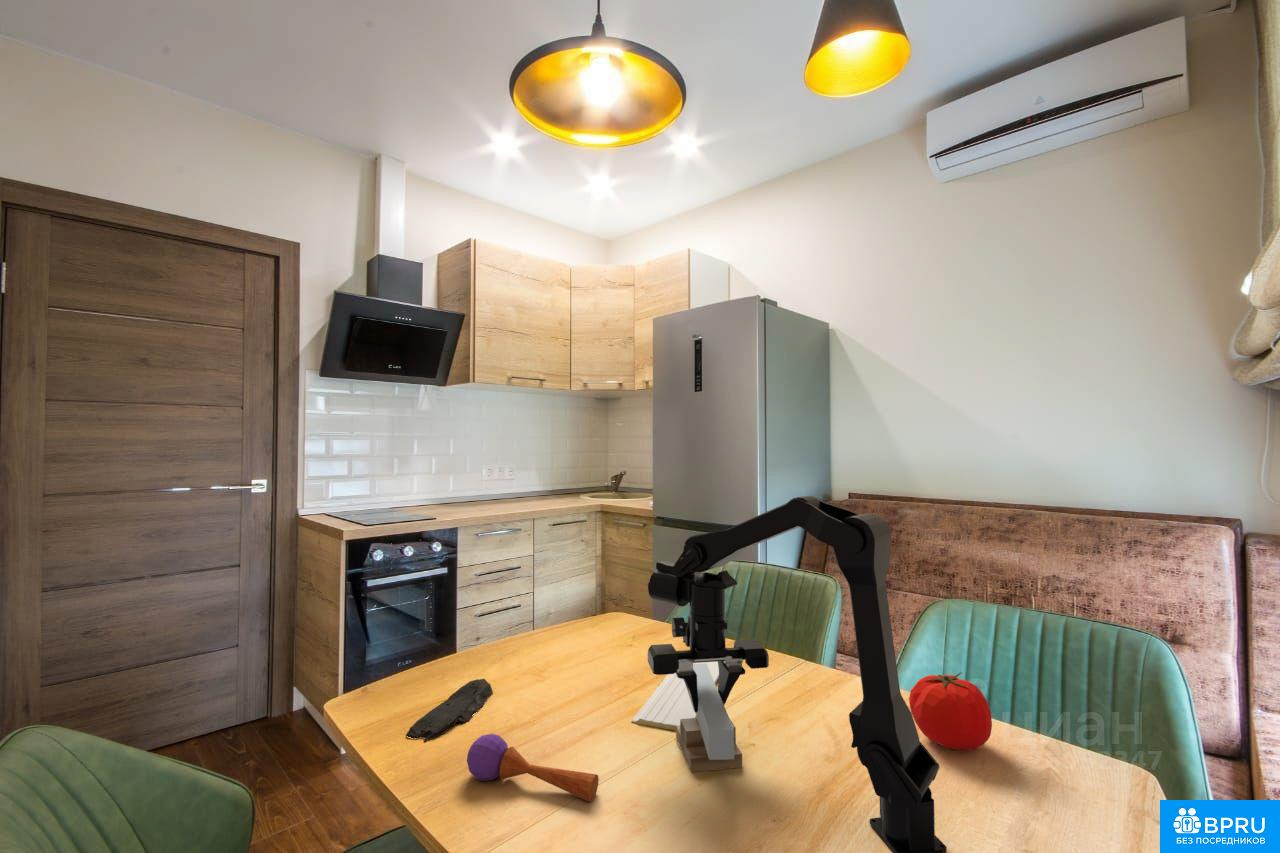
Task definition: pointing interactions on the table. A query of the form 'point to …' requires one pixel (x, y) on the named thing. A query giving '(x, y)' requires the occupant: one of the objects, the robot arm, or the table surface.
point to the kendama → (524, 767)
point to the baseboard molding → (670, 702)
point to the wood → (452, 710)
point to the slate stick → (713, 717)
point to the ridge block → (702, 748)
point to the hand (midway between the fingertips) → (707, 710)
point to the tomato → (951, 711)
